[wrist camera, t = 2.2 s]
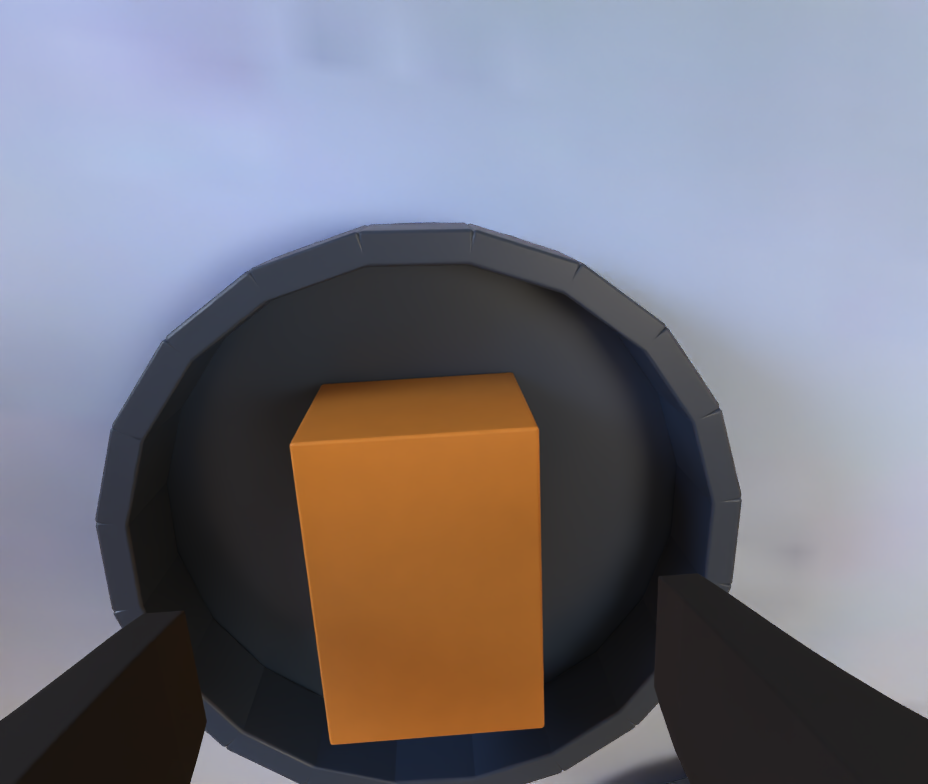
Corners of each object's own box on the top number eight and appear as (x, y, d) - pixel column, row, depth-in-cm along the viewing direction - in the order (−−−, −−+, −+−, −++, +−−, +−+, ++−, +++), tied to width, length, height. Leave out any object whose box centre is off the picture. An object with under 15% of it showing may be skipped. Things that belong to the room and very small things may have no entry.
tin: (584, 757, 18) (609, 845, 15) (111, 658, 16) (56, 740, 14) (778, 319, 14) (847, 346, 12) (210, 140, 13) (160, 129, 10)
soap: (521, 617, 16) (545, 729, 12) (349, 630, 16) (329, 746, 12) (513, 371, 14) (539, 426, 11) (321, 383, 14) (288, 443, 11)
